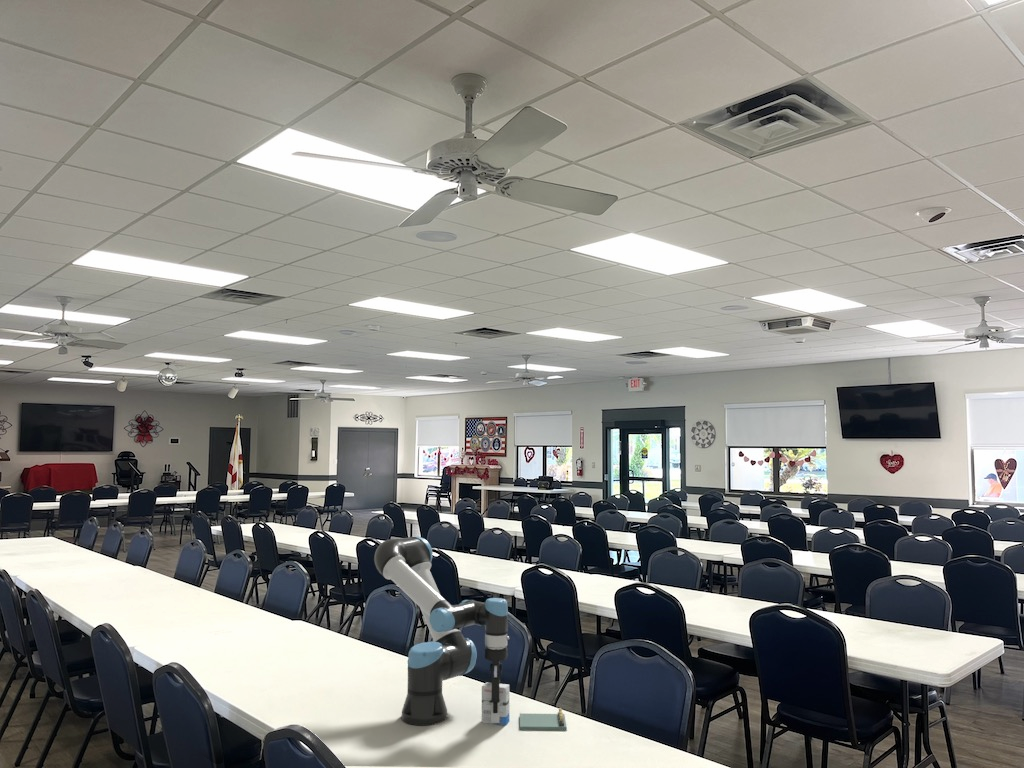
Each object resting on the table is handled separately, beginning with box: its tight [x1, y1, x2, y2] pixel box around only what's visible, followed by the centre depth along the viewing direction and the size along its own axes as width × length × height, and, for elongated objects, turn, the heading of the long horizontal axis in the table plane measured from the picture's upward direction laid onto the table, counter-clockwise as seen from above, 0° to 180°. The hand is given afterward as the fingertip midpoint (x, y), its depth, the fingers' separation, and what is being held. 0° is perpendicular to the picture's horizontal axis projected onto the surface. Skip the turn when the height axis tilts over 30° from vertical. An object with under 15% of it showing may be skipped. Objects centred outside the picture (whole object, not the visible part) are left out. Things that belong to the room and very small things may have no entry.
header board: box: [519, 707, 568, 731], centre depth 237 cm, size 15×12×4 cm
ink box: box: [481, 681, 511, 726], centre depth 239 cm, size 8×5×12 cm, turn 75°
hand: (495, 718), depth 238 cm, fingers closed on ink box, 6 cm apart
